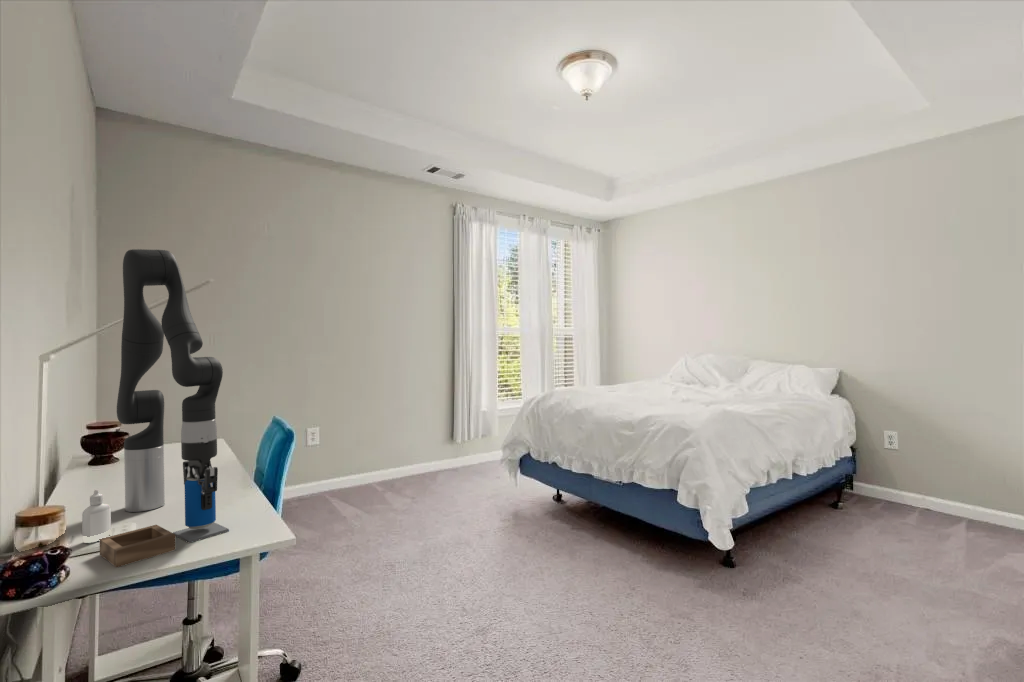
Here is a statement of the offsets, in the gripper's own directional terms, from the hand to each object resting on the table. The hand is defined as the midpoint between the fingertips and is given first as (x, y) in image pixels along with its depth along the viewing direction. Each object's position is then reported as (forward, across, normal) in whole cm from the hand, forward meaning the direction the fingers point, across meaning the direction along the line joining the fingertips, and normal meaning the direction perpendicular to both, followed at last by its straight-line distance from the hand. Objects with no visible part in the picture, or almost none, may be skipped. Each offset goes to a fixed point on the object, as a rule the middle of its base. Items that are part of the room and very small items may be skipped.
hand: (200, 506), depth 128 cm
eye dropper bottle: (+7, -16, -16) cm, 24 cm away
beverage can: (+5, 0, 0) cm, 5 cm away
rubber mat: (+7, 0, 0) cm, 7 cm away
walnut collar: (+7, +1, -14) cm, 15 cm away
